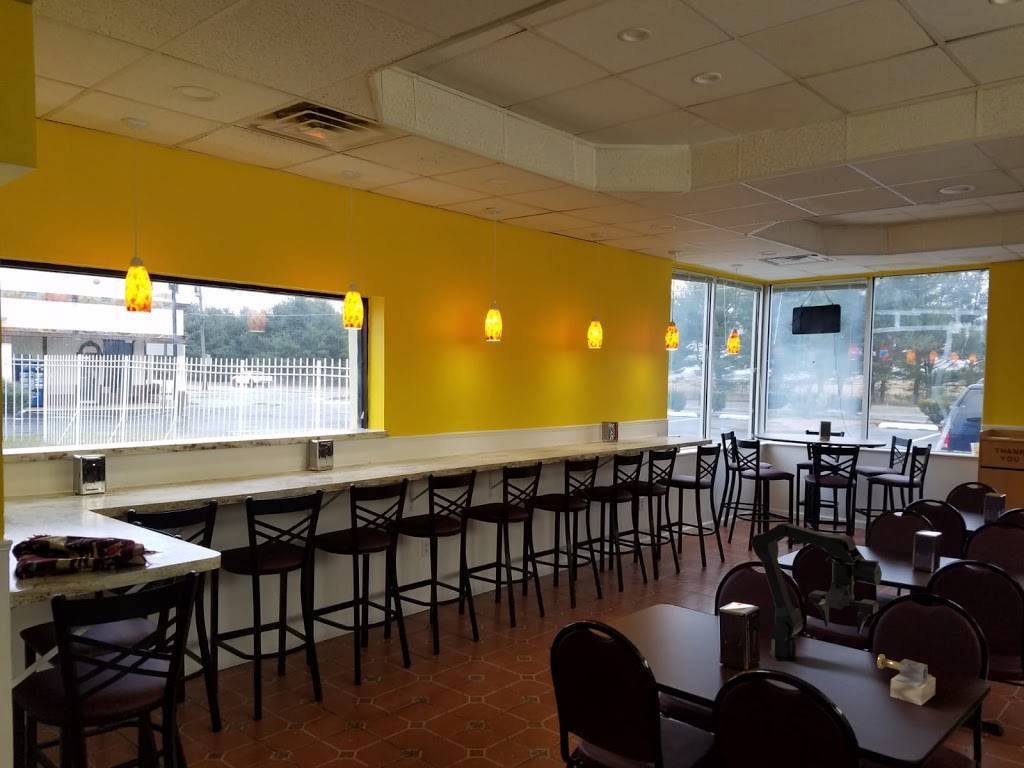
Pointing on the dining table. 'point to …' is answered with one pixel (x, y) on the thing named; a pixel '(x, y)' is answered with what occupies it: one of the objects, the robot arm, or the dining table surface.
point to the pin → (887, 663)
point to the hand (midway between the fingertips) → (842, 630)
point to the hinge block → (913, 683)
